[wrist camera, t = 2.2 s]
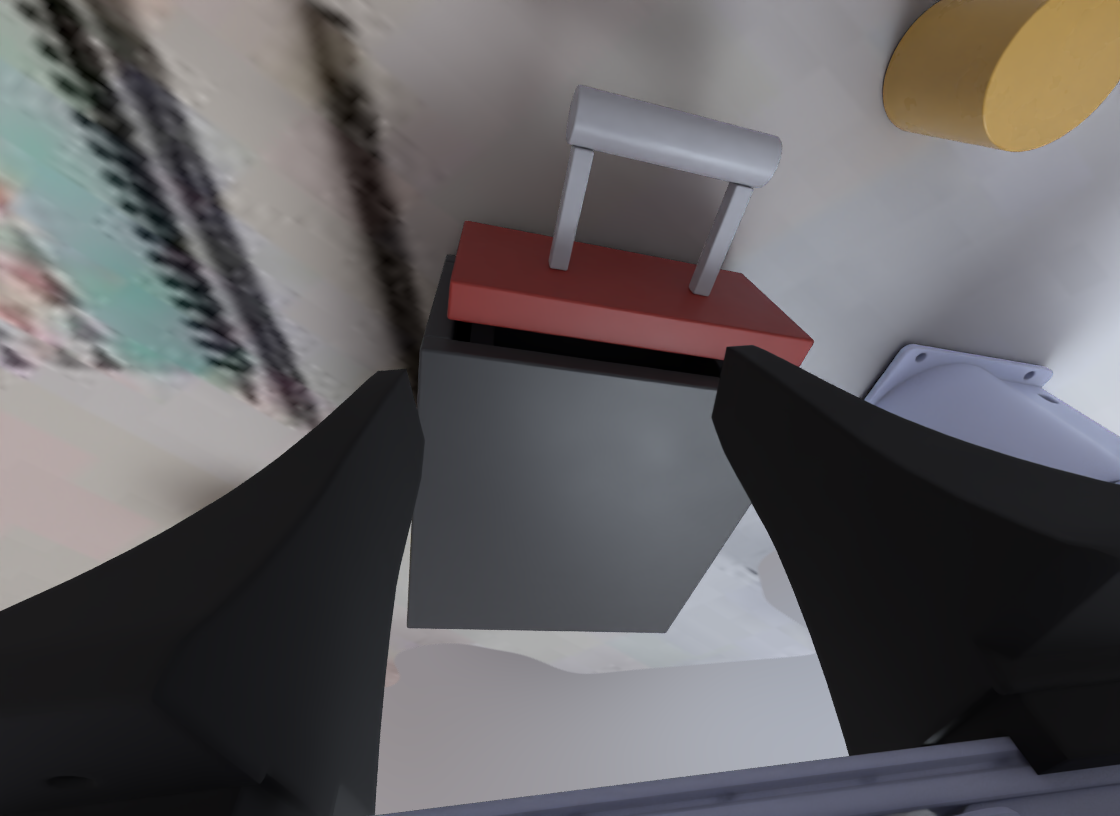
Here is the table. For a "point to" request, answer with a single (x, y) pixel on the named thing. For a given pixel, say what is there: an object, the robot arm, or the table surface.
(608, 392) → the dark grey box
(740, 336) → the drawer
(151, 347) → the table surface
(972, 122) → the yellow wooden cylinder
